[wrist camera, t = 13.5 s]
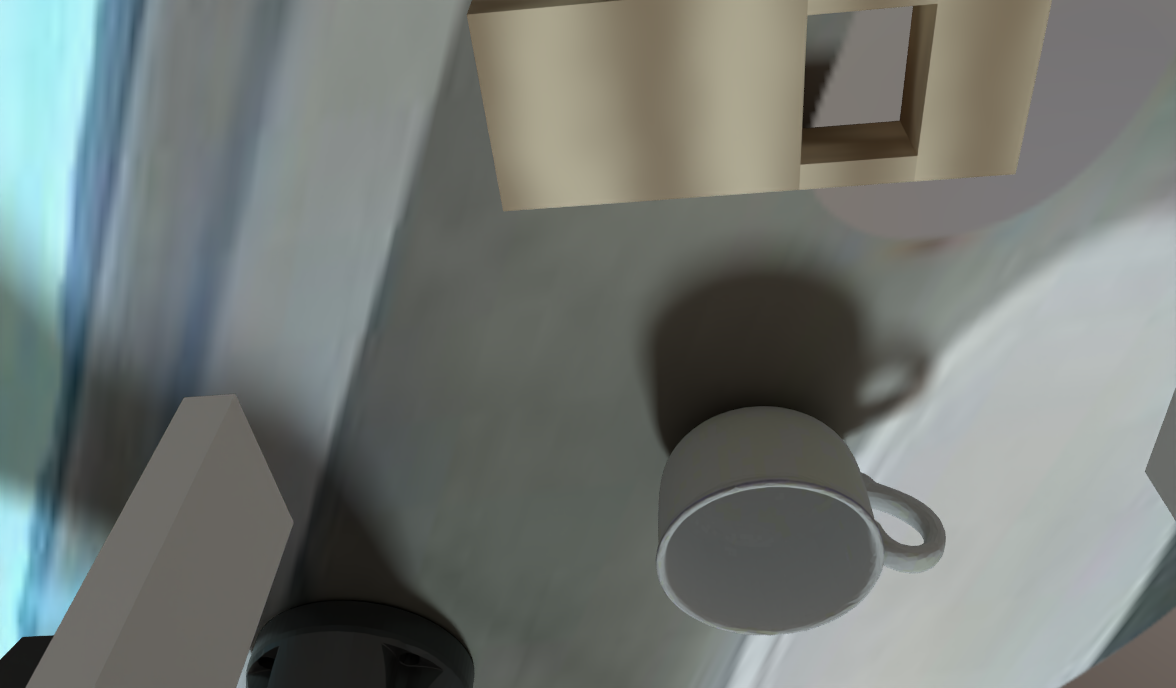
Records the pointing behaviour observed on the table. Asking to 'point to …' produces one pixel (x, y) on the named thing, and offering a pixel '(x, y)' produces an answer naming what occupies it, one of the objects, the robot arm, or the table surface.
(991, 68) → the block
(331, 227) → the table surface
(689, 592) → the teacup
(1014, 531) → the table surface
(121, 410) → the table surface
